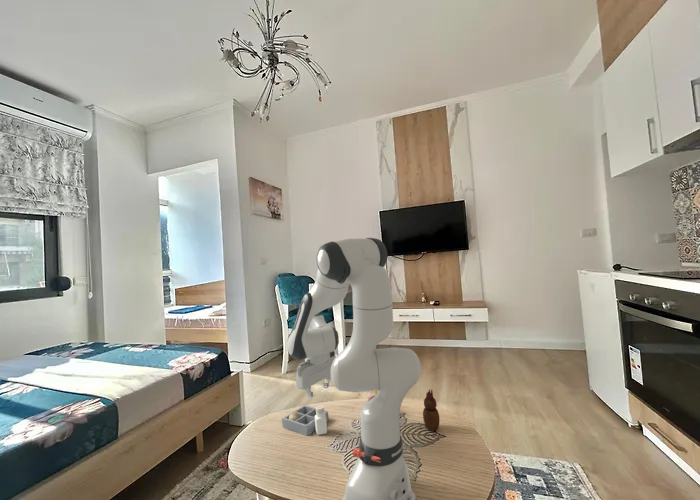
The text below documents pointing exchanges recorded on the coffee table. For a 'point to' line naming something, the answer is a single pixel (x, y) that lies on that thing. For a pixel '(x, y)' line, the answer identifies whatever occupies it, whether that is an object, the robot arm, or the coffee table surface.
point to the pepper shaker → (320, 421)
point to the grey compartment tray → (302, 420)
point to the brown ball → (294, 416)
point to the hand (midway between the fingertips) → (318, 392)
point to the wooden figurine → (430, 412)
